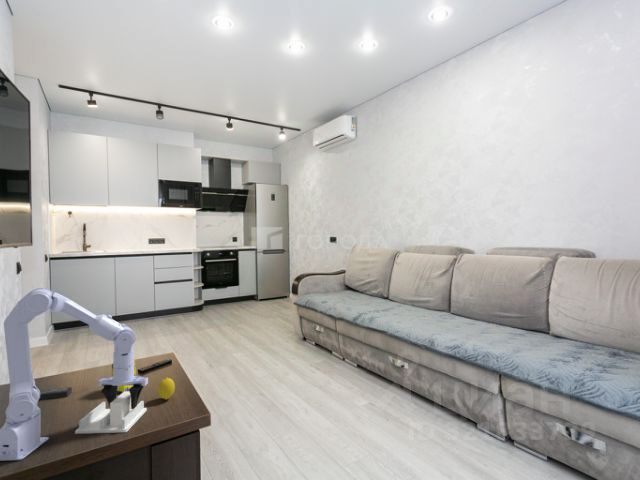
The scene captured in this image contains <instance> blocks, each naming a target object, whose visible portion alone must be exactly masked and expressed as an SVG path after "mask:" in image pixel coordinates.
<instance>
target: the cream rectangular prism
mask: <svg viewBox="0 0 640 480" xmlns="http://www.w3.org/2000/svg"><path fill="white" fill-rule="evenodd" d="M109 409H110V426H122V419H123V418H124V417H125V416H126V415H127V414H128V413H129V412H131V411H132V410H133V409H131V395H130V391H124V392H123V393H120V394H119V395H118V396H116V399H115V400H113V401H112V402H111V403H110V408H109Z"/></svg>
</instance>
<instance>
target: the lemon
mask: <svg viewBox="0 0 640 480" xmlns="http://www.w3.org/2000/svg"><path fill="white" fill-rule="evenodd" d="M158 384H159V385H158V387H157V392H158V396H159V397H160V398H161V399H163V400H165V401H167V400H168V399H169V398H171V397H172V396H173V394H175V389H176V388H175V387H176V386H175V385H176V384H175V382H174V380H173V379H172V378H170V377H165V378H163V379H161V381H160V382H159V383H158Z"/></svg>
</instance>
